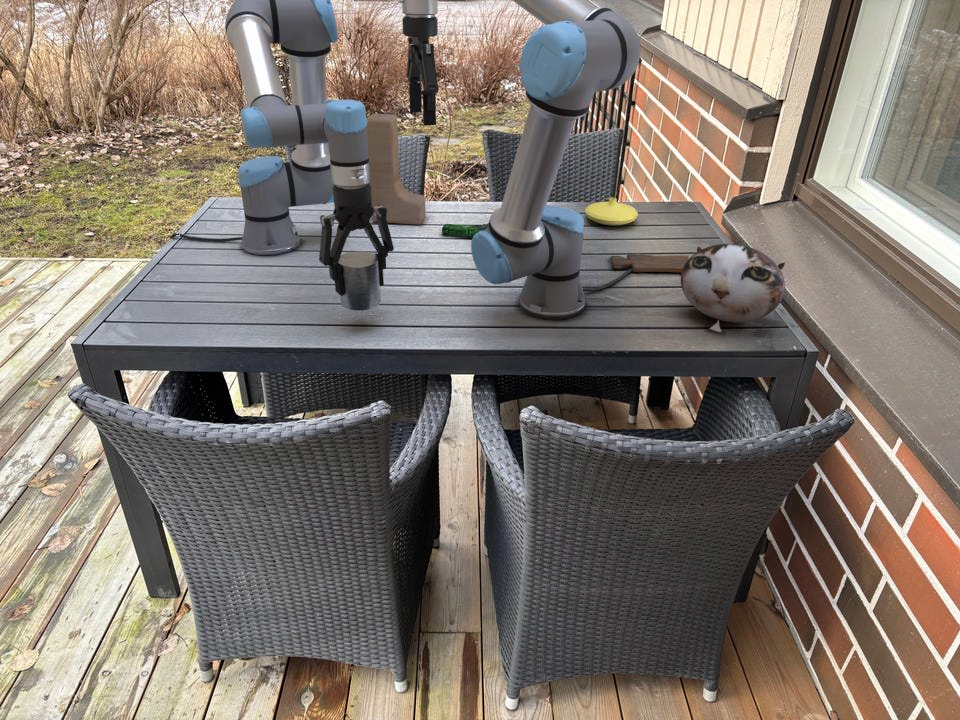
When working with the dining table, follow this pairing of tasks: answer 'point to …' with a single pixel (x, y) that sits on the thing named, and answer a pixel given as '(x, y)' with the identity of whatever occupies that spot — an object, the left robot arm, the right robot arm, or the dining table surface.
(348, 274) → the can
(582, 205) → the dining table surface
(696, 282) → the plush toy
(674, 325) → the dining table surface
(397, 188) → the decorative block
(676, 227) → the dining table surface
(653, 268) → the dark wooden board
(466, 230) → the handgun
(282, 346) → the dining table surface
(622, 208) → the yellow knobbed lid
